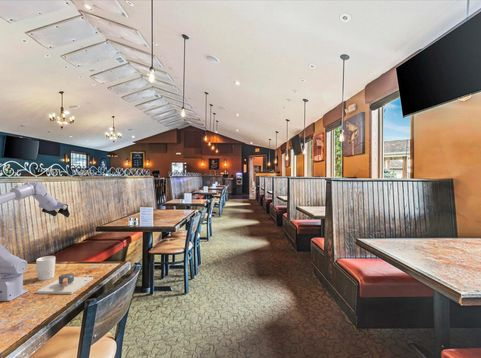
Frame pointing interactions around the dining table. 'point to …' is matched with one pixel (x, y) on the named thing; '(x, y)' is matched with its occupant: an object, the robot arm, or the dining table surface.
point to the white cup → (45, 267)
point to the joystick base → (71, 287)
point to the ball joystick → (66, 279)
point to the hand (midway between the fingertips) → (62, 215)
